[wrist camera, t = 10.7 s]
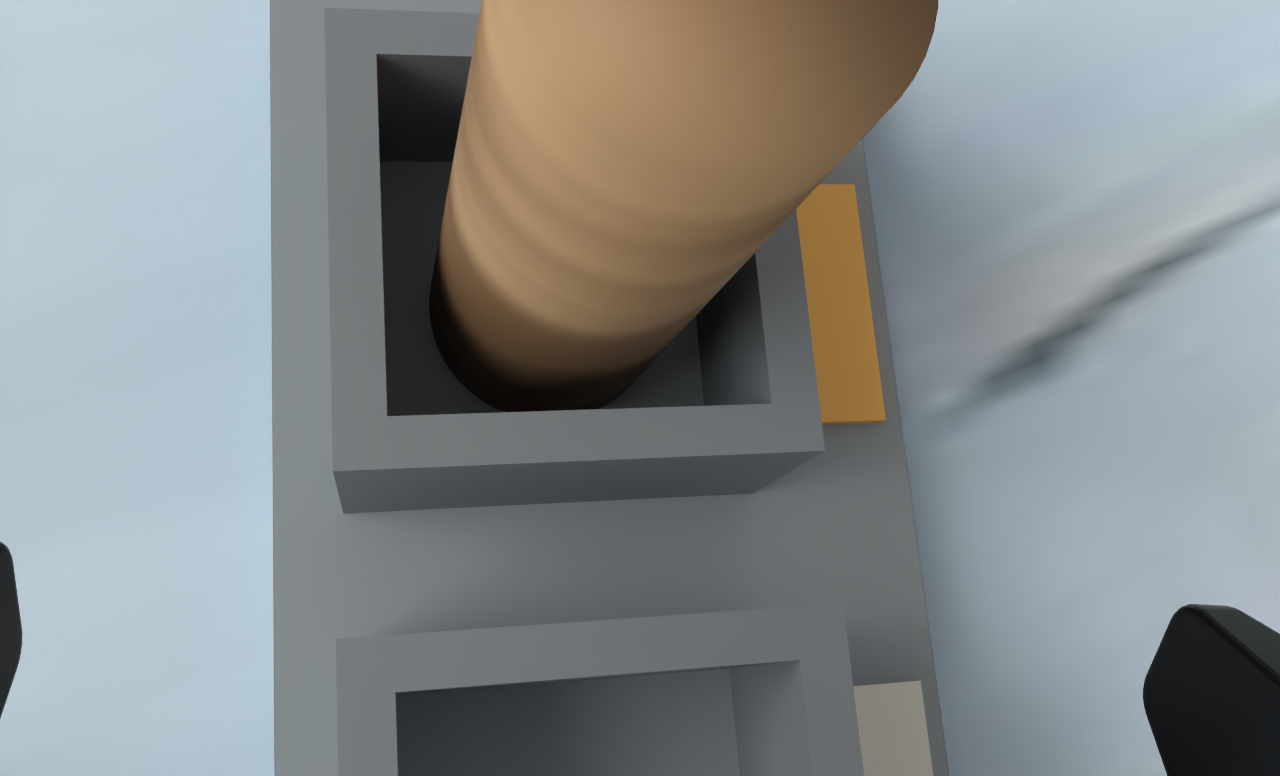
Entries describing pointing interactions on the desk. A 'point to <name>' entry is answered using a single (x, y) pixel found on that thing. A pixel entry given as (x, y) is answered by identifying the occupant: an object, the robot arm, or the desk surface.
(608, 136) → the walnut peg
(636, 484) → the socket block
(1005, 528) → the desk surface
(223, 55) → the desk surface
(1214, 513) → the desk surface
